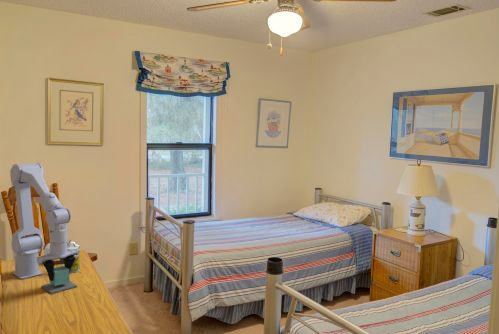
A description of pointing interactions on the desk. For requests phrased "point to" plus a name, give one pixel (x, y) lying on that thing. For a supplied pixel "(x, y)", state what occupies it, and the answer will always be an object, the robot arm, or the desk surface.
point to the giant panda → (70, 244)
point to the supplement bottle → (76, 263)
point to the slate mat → (58, 287)
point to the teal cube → (60, 276)
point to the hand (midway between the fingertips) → (59, 278)
